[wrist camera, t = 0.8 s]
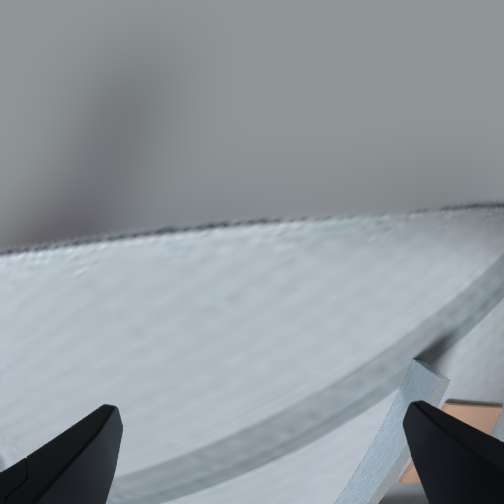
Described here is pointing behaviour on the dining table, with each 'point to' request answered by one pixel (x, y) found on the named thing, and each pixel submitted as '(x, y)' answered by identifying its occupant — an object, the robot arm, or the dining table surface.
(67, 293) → the dining table surface
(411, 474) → the terracotta tile
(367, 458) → the corner walls
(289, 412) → the dining table surface
